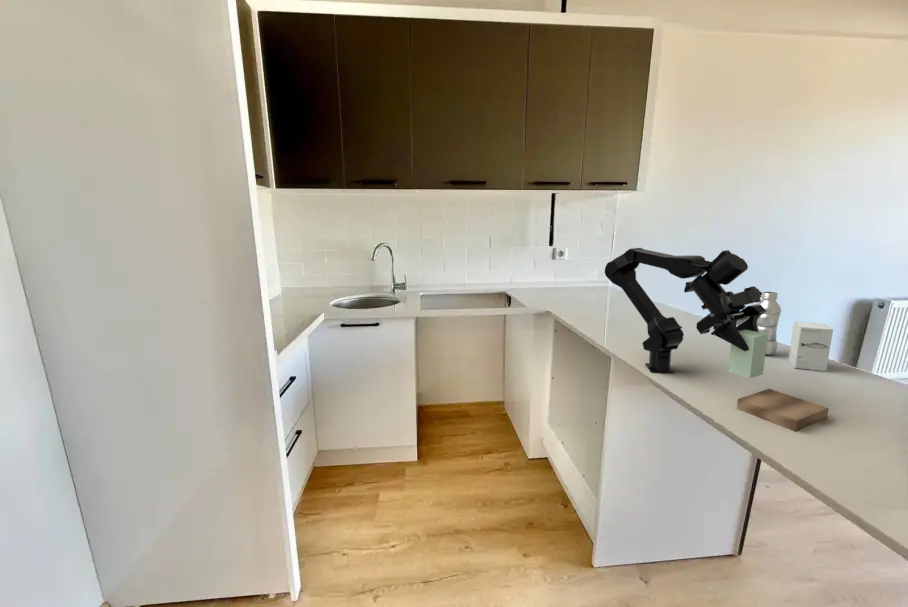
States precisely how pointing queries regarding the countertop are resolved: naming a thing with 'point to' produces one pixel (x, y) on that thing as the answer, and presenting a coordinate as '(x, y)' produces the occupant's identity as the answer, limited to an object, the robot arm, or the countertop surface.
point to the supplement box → (810, 345)
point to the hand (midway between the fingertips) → (754, 348)
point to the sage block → (749, 355)
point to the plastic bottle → (769, 320)
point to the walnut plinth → (783, 409)
